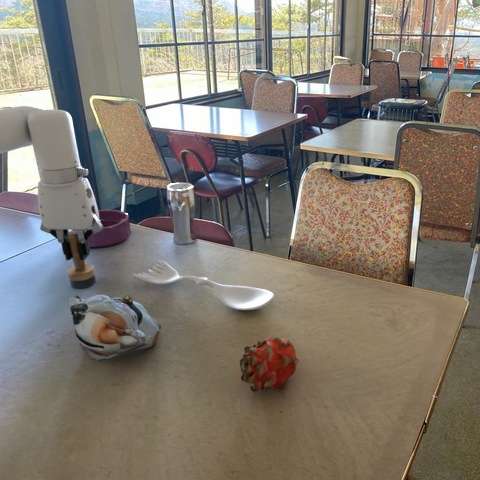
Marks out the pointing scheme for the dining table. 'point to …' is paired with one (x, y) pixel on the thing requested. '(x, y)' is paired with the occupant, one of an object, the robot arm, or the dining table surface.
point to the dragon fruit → (268, 364)
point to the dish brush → (79, 266)
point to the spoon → (228, 294)
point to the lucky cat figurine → (112, 325)
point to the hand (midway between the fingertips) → (77, 256)
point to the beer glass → (182, 212)
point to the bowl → (110, 228)
